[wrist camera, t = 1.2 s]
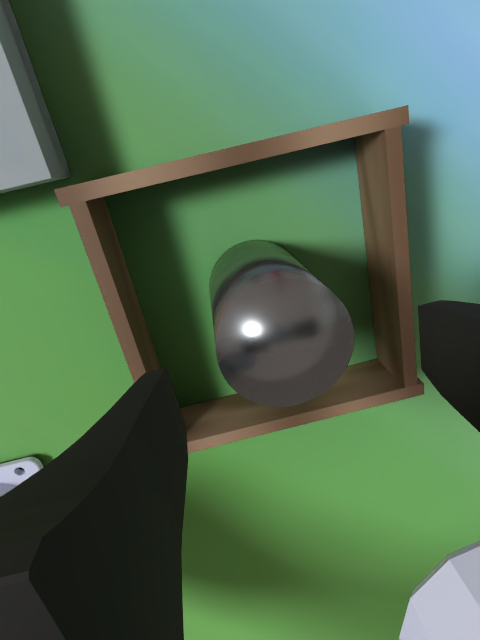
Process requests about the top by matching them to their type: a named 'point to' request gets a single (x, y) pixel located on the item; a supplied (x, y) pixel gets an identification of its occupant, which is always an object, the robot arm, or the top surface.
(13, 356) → the top surface
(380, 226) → the walnut box
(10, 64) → the slate tray
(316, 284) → the metal tin
